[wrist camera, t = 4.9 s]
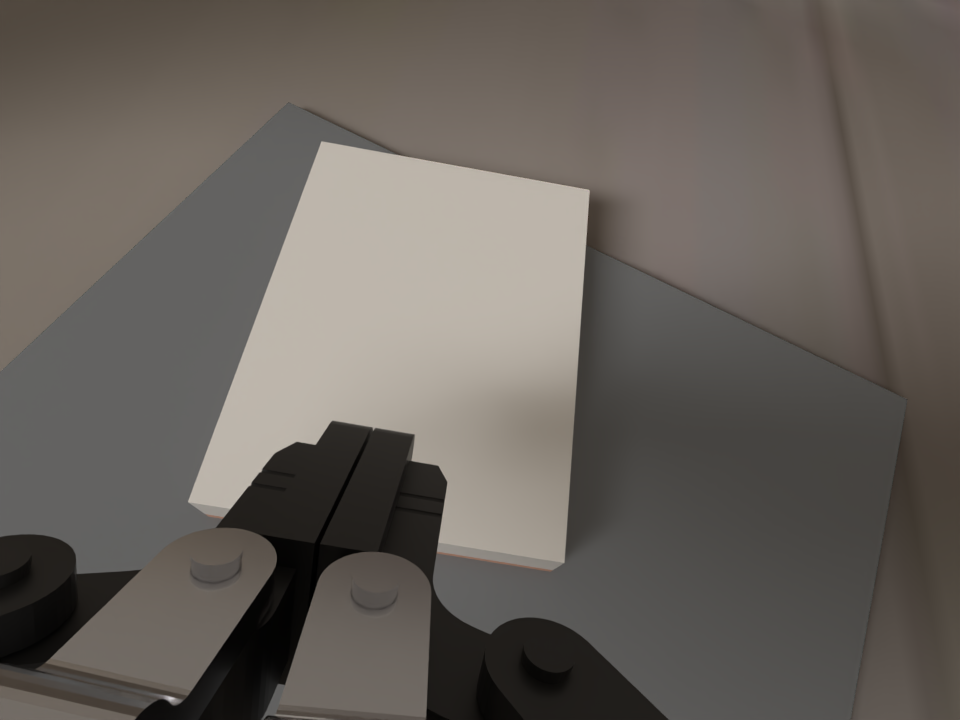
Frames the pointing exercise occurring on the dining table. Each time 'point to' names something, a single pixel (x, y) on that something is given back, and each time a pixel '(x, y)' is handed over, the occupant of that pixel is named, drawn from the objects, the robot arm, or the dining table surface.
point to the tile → (423, 342)
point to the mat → (594, 465)
